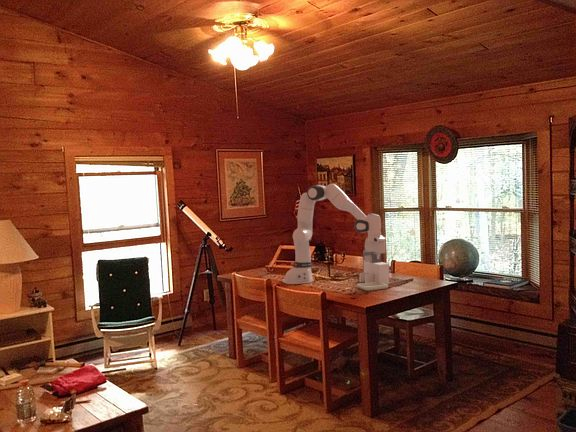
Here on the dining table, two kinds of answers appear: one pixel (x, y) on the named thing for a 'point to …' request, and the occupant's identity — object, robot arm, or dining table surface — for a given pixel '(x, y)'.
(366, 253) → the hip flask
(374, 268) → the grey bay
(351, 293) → the dining table surface
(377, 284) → the sage tray
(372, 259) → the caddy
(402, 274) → the dining table surface
